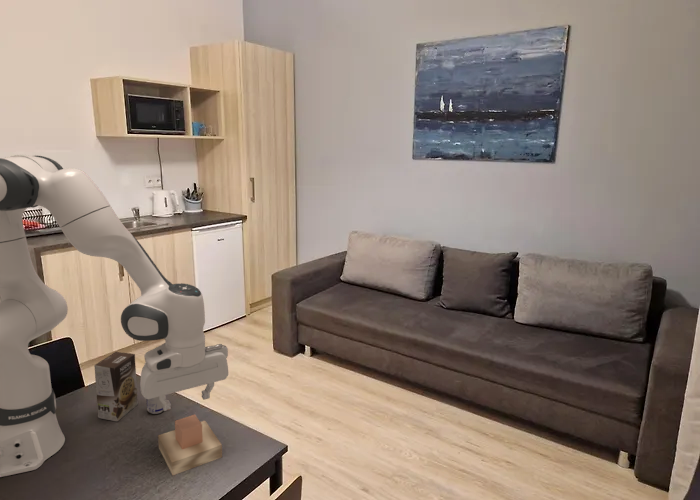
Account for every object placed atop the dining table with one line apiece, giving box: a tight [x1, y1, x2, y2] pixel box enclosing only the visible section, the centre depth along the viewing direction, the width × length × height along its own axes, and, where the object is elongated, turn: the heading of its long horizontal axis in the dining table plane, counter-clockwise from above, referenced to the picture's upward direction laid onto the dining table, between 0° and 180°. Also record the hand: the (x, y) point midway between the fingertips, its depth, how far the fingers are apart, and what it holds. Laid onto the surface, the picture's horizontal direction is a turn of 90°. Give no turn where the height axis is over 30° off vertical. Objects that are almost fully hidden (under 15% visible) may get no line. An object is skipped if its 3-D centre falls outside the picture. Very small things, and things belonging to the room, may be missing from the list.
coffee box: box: [94, 351, 139, 422], centre depth 132 cm, size 9×6×16 cm
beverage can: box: [144, 362, 167, 415], centre depth 134 cm, size 5×5×15 cm
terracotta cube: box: [174, 414, 203, 449], centre depth 117 cm, size 5×5×5 cm
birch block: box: [157, 420, 223, 476], centre depth 118 cm, size 12×12×4 cm
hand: (186, 403), depth 115 cm, fingers open, 8 cm apart
